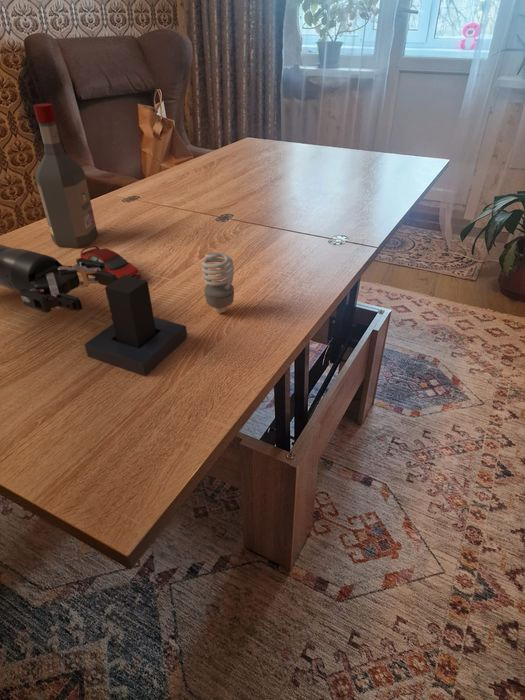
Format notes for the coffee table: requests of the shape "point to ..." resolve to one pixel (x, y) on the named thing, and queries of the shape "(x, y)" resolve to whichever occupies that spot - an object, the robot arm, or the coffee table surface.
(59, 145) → the liquor
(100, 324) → the coffee table surface
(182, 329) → the base pad
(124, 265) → the toy car
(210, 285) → the light bulb
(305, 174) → the coffee table surface
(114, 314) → the post
